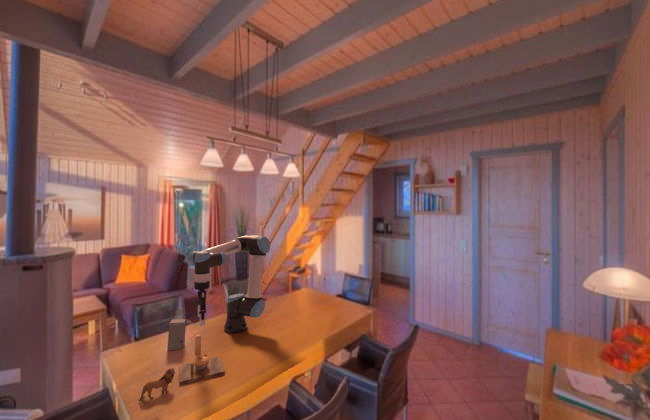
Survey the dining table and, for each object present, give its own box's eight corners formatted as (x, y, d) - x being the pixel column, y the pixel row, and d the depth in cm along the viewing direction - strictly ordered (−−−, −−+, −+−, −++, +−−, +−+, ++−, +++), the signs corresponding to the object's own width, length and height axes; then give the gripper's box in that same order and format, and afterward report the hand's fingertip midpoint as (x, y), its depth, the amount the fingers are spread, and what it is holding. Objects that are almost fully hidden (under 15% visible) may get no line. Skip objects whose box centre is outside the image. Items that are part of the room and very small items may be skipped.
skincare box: (167, 351, 163) (167, 323, 163) (170, 345, 170) (171, 319, 170) (183, 349, 165) (183, 322, 166) (185, 344, 172) (186, 317, 172)
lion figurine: (171, 384, 133) (171, 364, 133) (177, 388, 129) (177, 368, 130) (135, 400, 121) (136, 379, 121) (141, 405, 118) (141, 384, 118)
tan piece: (210, 363, 143) (211, 342, 143) (196, 367, 139) (196, 345, 139) (204, 352, 153) (204, 333, 153) (190, 356, 149) (190, 336, 149)
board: (220, 359, 155) (220, 348, 155) (224, 374, 141) (224, 362, 141) (179, 368, 146) (179, 356, 146) (179, 385, 132) (179, 372, 132)
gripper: (212, 285, 142) (211, 328, 142) (207, 275, 164) (206, 312, 164) (195, 287, 138) (195, 331, 138) (193, 276, 160) (192, 314, 160)
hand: (201, 320), depth 151 cm, fingers open, 13 cm apart
